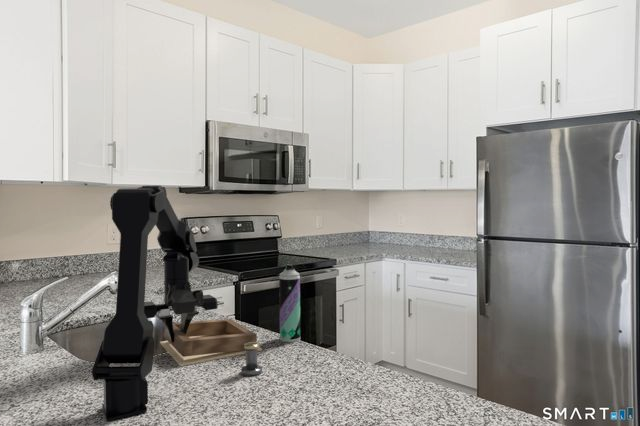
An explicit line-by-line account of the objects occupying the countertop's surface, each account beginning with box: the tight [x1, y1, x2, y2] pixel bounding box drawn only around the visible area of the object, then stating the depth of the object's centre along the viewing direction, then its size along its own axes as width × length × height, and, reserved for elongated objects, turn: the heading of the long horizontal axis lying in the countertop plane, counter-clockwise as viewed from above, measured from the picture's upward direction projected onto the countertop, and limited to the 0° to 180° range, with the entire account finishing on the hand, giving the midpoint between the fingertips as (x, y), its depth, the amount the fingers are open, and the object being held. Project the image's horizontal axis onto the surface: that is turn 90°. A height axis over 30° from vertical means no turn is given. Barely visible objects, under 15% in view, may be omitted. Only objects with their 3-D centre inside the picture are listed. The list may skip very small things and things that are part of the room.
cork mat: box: [159, 334, 263, 367], centre depth 114 cm, size 20×20×1 cm
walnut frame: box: [163, 318, 258, 357], centre depth 113 cm, size 18×18×4 cm
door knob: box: [240, 341, 263, 377], centre depth 96 cm, size 4×4×6 cm
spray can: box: [278, 264, 301, 343], centre depth 119 cm, size 6×6×20 cm
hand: (177, 341), depth 109 cm, fingers closed on walnut frame, 2 cm apart
